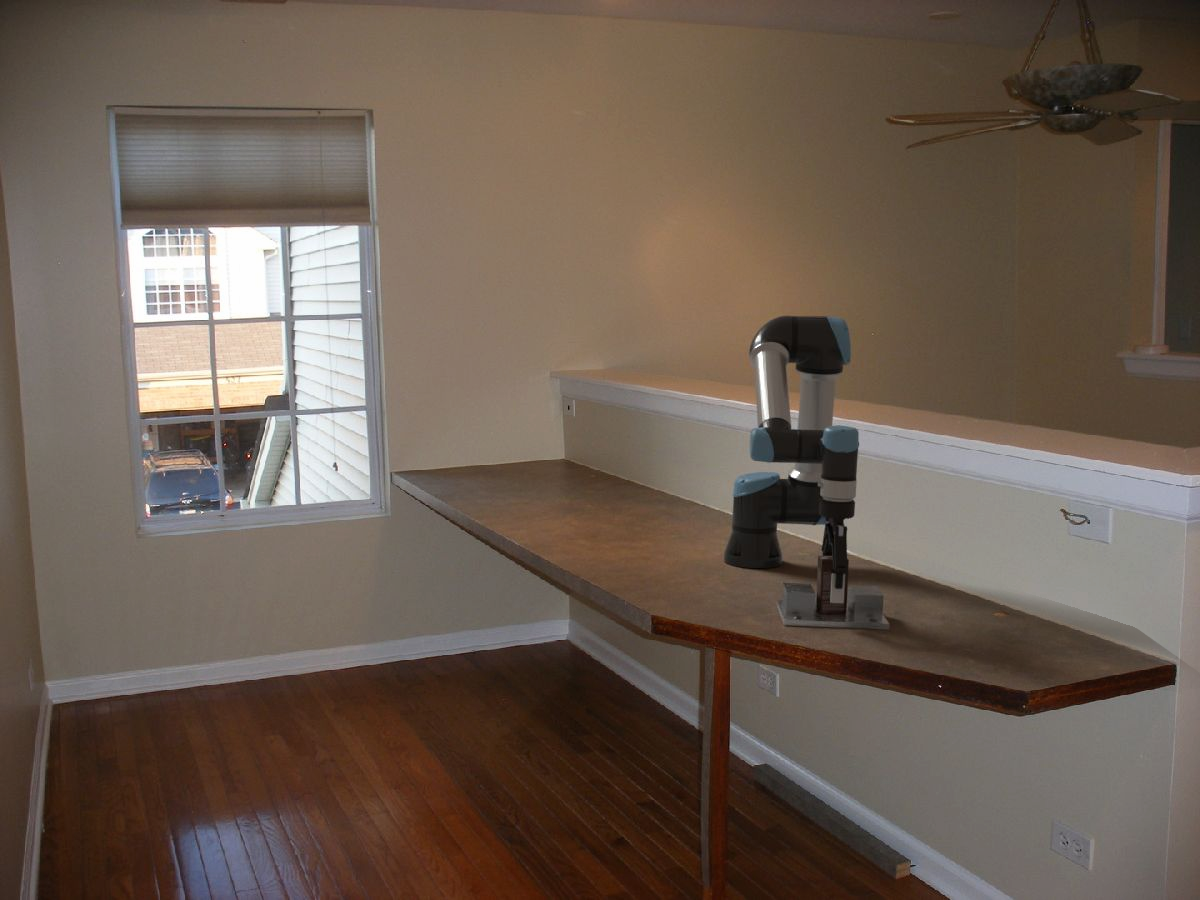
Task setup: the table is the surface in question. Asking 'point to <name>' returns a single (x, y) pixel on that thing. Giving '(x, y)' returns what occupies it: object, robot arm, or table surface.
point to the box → (828, 587)
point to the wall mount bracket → (860, 613)
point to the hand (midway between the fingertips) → (832, 594)
